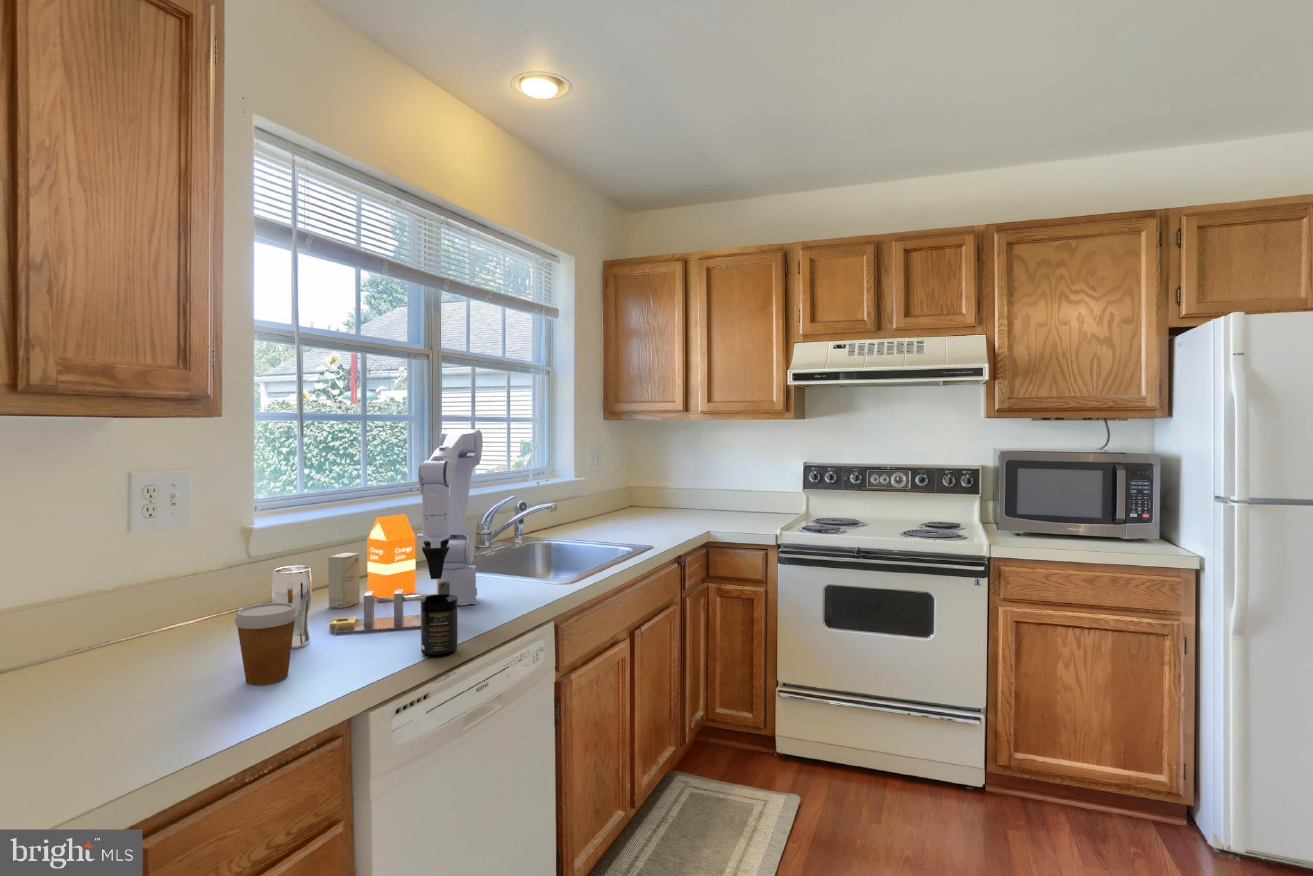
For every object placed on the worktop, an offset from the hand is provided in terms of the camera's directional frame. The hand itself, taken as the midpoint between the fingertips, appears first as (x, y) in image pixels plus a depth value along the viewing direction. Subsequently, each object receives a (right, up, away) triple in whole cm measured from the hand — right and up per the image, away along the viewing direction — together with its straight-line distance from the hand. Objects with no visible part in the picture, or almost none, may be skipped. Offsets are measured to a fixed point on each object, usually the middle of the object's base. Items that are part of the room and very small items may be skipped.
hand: (436, 575), depth 155 cm
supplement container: (+8, -11, -23) cm, 26 cm away
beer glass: (-23, -10, -18) cm, 31 cm away
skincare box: (-26, -10, +12) cm, 30 cm away
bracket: (-10, -10, -5) cm, 15 cm away
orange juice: (-19, -10, +24) cm, 32 cm away
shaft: (-4, -7, -3) cm, 8 cm away
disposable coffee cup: (-17, -11, -36) cm, 42 cm away
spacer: (-18, -9, -7) cm, 21 cm away
